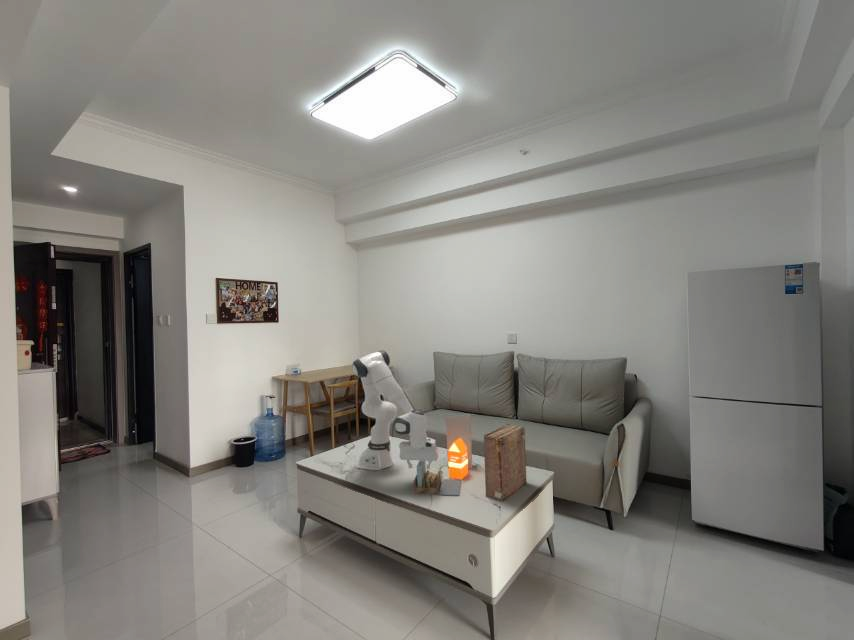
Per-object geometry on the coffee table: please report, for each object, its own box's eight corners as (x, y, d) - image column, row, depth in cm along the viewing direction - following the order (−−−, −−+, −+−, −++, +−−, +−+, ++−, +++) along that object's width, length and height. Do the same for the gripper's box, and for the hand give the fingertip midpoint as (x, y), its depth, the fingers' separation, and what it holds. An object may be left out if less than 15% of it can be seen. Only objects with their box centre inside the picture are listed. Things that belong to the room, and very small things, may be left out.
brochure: (472, 464, 233) (470, 414, 232) (472, 468, 227) (470, 416, 227) (448, 464, 234) (446, 414, 234) (447, 468, 229) (446, 416, 228)
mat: (438, 495, 194) (438, 494, 194) (442, 480, 212) (442, 479, 212) (458, 496, 193) (458, 494, 193) (461, 480, 211) (461, 479, 211)
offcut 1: (426, 491, 199) (426, 480, 199) (429, 483, 209) (428, 472, 209) (430, 491, 199) (429, 480, 199) (433, 483, 209) (432, 472, 209)
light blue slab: (417, 492, 199) (416, 466, 199) (421, 482, 211) (420, 458, 211) (422, 492, 199) (421, 466, 198) (426, 482, 210) (425, 458, 210)
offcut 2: (431, 491, 199) (430, 480, 199) (433, 483, 208) (433, 473, 208) (434, 491, 199) (434, 480, 199) (437, 483, 208) (436, 473, 208)
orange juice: (468, 473, 220) (467, 438, 219) (461, 479, 212) (460, 442, 212) (455, 471, 224) (454, 436, 223) (448, 477, 216) (447, 441, 216)
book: (510, 478, 211) (509, 423, 210) (526, 483, 205) (524, 426, 204) (485, 496, 192) (483, 435, 191) (502, 501, 186) (500, 438, 185)
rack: (413, 493, 197) (413, 481, 197) (419, 480, 213) (418, 469, 213) (437, 494, 195) (436, 482, 195) (440, 480, 211) (440, 469, 211)
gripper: (397, 443, 203) (398, 469, 203) (436, 444, 199) (437, 471, 199) (400, 439, 209) (401, 465, 209) (438, 440, 205) (439, 466, 205)
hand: (419, 468), depth 204 cm, fingers open, 8 cm apart
